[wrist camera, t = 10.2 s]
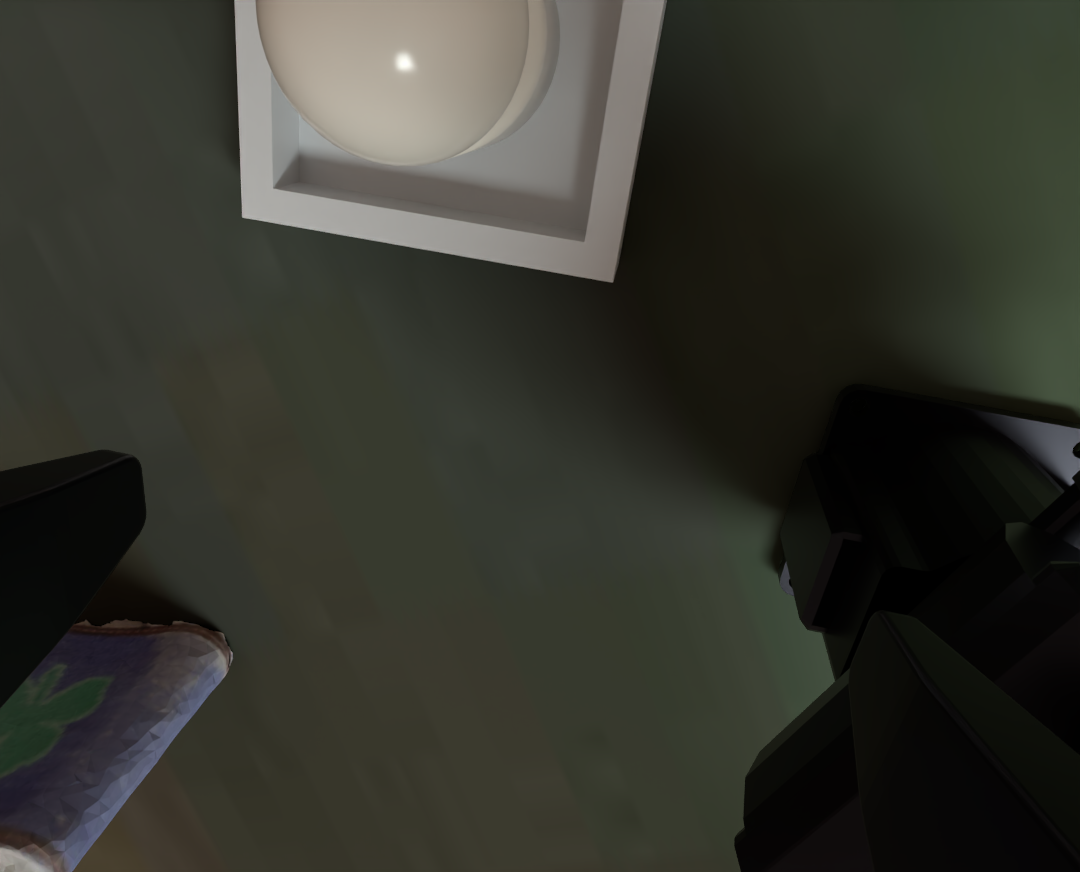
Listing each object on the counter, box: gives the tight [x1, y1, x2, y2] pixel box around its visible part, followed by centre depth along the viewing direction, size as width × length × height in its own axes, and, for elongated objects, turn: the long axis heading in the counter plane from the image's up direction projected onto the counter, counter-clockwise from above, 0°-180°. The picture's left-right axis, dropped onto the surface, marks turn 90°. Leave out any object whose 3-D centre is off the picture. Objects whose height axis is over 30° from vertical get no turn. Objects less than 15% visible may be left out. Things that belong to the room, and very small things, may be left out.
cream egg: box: [255, 0, 560, 167], centre depth 14 cm, size 5×5×6 cm
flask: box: [0, 619, 233, 872], centre depth 23 cm, size 9×3×11 cm, turn 95°
